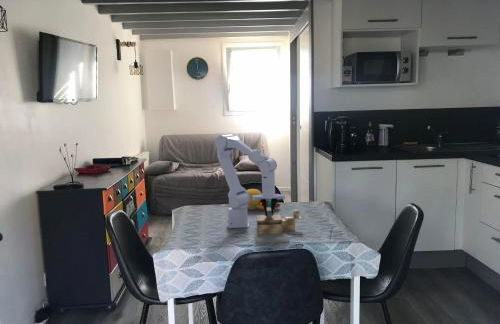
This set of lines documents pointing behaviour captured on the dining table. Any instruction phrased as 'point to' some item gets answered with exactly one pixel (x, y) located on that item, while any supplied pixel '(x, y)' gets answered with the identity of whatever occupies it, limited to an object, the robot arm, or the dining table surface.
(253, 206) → the toy
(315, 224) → the dining table surface
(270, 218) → the lid
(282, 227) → the open wooden box
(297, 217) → the beige piece
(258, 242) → the mat
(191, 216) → the dining table surface
